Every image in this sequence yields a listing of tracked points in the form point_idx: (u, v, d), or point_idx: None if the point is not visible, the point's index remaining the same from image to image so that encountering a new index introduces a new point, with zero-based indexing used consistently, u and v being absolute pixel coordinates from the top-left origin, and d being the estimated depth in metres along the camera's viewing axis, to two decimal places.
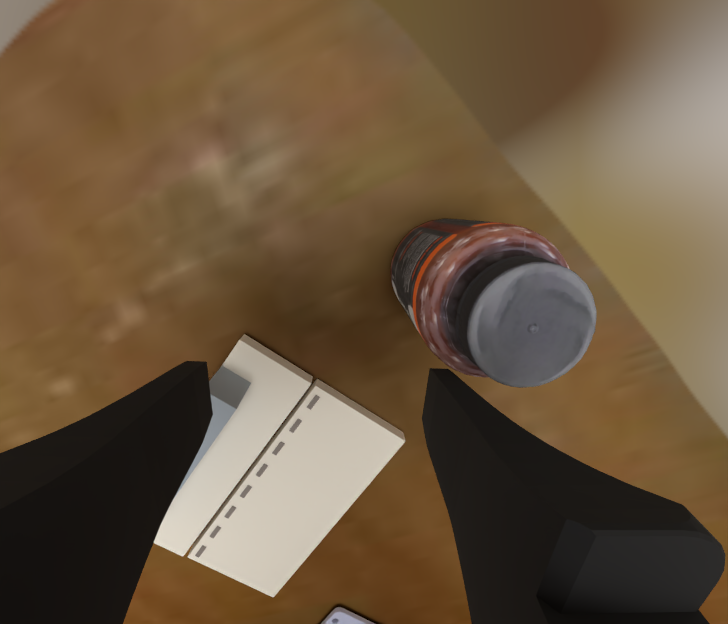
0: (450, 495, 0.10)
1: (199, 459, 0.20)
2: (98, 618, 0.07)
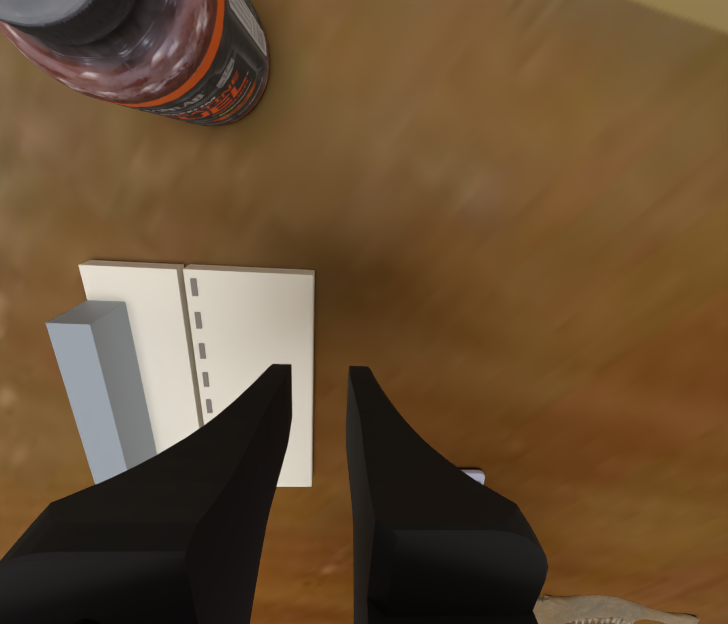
0: (353, 494, 0.09)
1: (105, 390, 0.19)
2: (241, 615, 0.07)
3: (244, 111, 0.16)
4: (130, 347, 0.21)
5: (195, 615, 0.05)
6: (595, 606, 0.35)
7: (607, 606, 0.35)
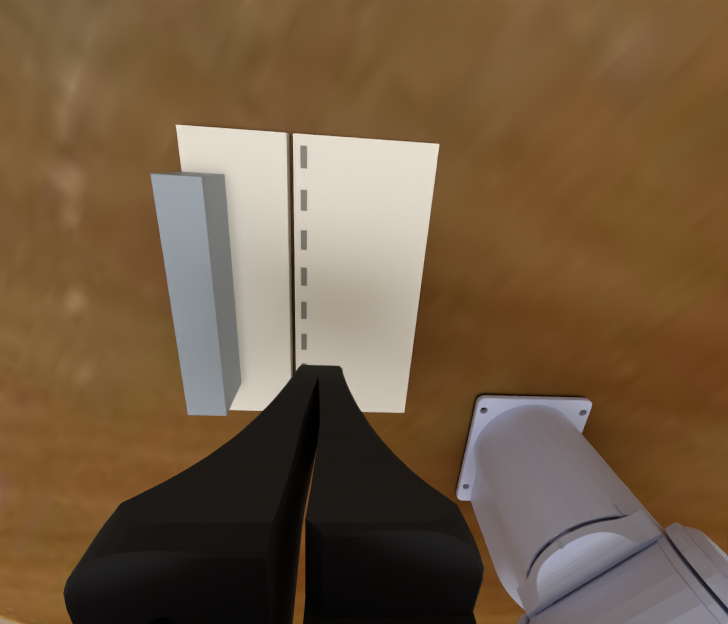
0: None
1: (209, 266, 0.16)
2: (288, 615, 0.07)
3: None
4: (226, 231, 0.18)
5: (268, 614, 0.05)
6: None
7: None
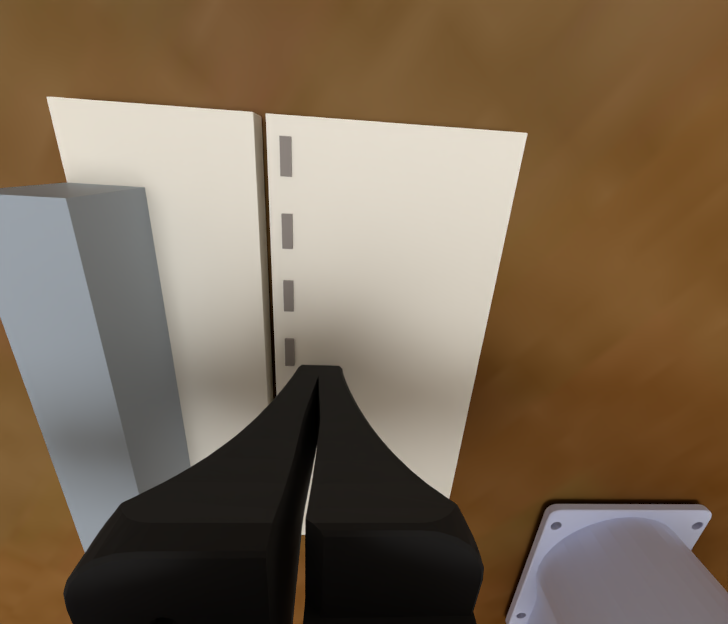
0: None
1: (103, 365, 0.08)
2: (288, 615, 0.07)
3: None
4: (153, 284, 0.10)
5: (268, 615, 0.05)
6: None
7: None
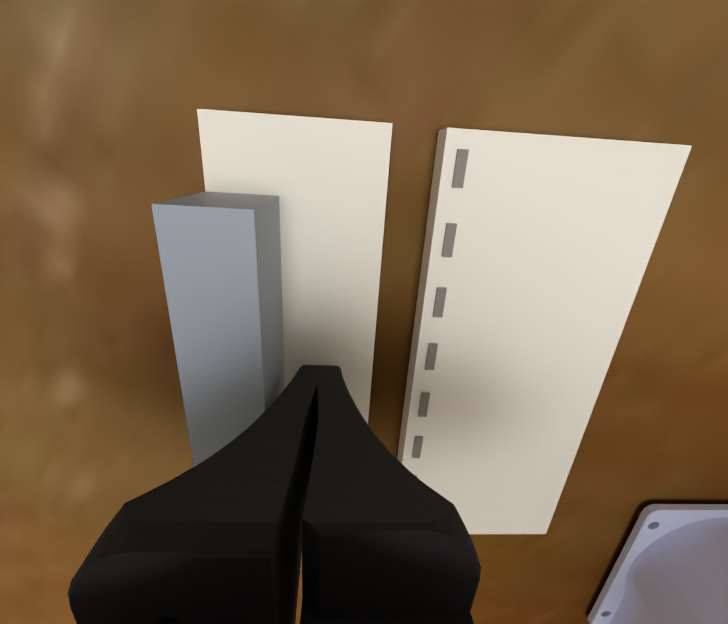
0: None
1: (259, 369, 0.09)
2: (291, 615, 0.07)
3: None
4: (279, 290, 0.11)
5: (272, 614, 0.05)
6: None
7: None
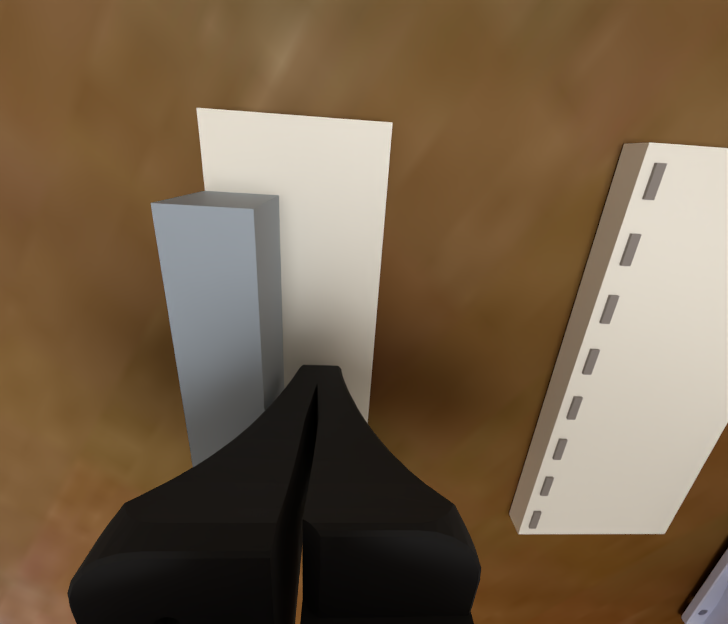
0: None
1: (259, 369, 0.09)
2: (291, 615, 0.07)
3: None
4: (279, 290, 0.11)
5: (272, 614, 0.05)
6: None
7: None
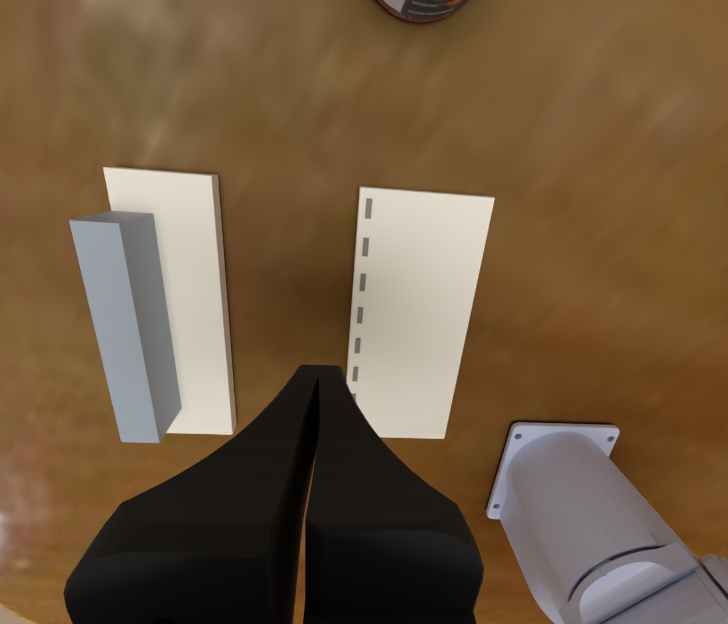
0: None
1: (132, 305, 0.17)
2: (288, 615, 0.07)
3: (466, 1, 0.15)
4: (157, 266, 0.19)
5: (268, 614, 0.05)
6: None
7: None
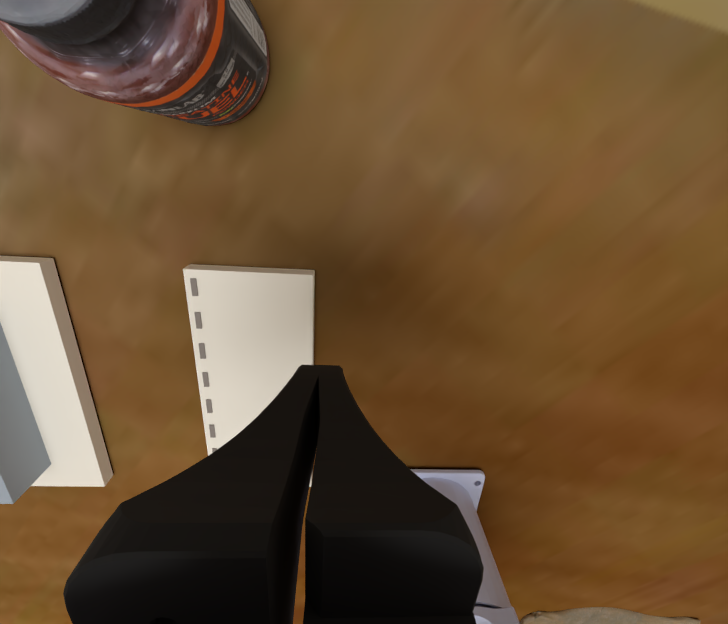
0: None
1: None
2: (288, 615, 0.07)
3: (244, 111, 0.16)
4: (0, 343, 0.20)
5: (268, 614, 0.05)
6: (589, 618, 0.35)
7: (602, 617, 0.36)
